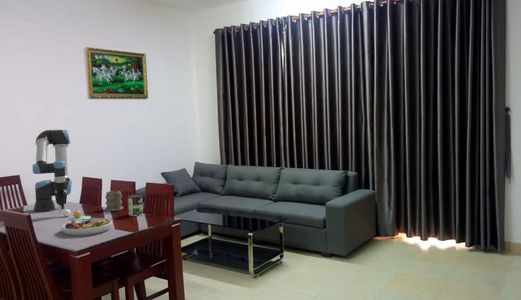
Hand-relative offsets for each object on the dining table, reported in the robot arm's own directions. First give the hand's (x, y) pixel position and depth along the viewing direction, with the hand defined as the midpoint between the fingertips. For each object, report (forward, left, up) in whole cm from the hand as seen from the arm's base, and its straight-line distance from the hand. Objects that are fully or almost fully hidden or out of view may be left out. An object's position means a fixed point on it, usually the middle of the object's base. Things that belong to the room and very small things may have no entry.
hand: (61, 213), depth 319 cm
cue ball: (+5, 0, +1) cm, 6 cm away
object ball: (+17, 0, +1) cm, 17 cm away
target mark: (+20, 0, -2) cm, 20 cm away
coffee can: (+49, +25, -2) cm, 55 cm away
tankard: (+22, +32, -2) cm, 39 cm away
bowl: (+53, -23, -3) cm, 58 cm away
